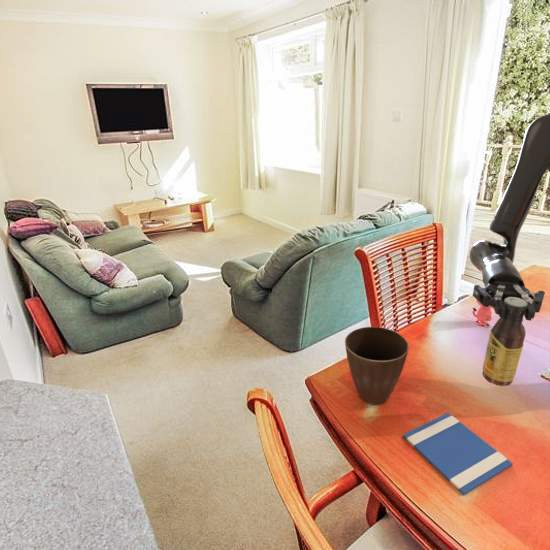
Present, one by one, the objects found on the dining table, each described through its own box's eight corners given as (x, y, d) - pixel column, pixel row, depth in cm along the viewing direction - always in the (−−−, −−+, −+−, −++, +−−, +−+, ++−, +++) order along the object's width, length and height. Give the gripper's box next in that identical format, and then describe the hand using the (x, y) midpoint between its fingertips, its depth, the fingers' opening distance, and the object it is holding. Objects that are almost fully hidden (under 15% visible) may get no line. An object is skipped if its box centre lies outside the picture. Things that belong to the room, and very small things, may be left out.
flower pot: (368, 424, 88) (371, 368, 81) (332, 387, 100) (333, 336, 94) (416, 402, 93) (422, 349, 87) (376, 370, 106) (380, 321, 100)
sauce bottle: (479, 367, 87) (495, 291, 79) (510, 372, 85) (529, 294, 77) (482, 385, 81) (499, 305, 73) (515, 391, 79) (537, 309, 71)
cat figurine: (496, 329, 122) (503, 296, 117) (473, 328, 123) (479, 295, 118) (488, 318, 128) (494, 286, 124) (467, 317, 130) (472, 286, 125)
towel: (447, 414, 89) (448, 412, 89) (512, 465, 76) (513, 462, 76) (402, 436, 84) (403, 434, 84) (463, 495, 71) (464, 493, 70)
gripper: (470, 262, 89) (479, 293, 74) (540, 267, 84) (564, 302, 70) (465, 290, 92) (473, 326, 77) (533, 297, 87) (554, 336, 73)
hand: (516, 314), depth 74 cm, fingers closed on sauce bottle, 4 cm apart
